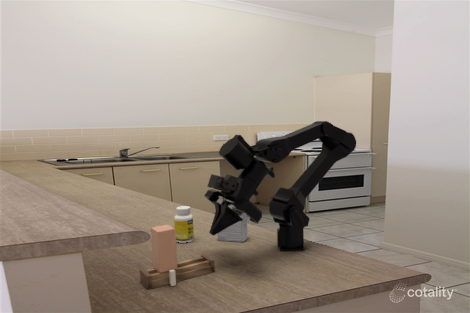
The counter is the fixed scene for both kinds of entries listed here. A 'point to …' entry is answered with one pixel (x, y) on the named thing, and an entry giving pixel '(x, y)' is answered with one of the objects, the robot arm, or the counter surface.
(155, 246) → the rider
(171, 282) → the pair of white blocks
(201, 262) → the wooden tray
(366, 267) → the counter surface
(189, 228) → the supplement bottle
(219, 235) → the medicine box
